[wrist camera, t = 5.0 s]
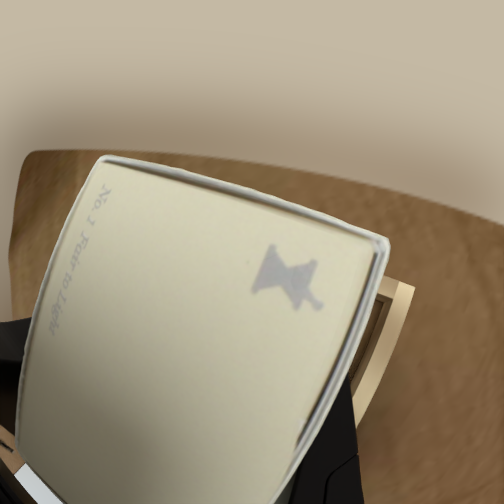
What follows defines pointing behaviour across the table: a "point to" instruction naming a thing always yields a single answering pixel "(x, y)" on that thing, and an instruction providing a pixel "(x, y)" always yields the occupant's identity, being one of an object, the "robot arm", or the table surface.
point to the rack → (380, 342)
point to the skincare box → (188, 339)
